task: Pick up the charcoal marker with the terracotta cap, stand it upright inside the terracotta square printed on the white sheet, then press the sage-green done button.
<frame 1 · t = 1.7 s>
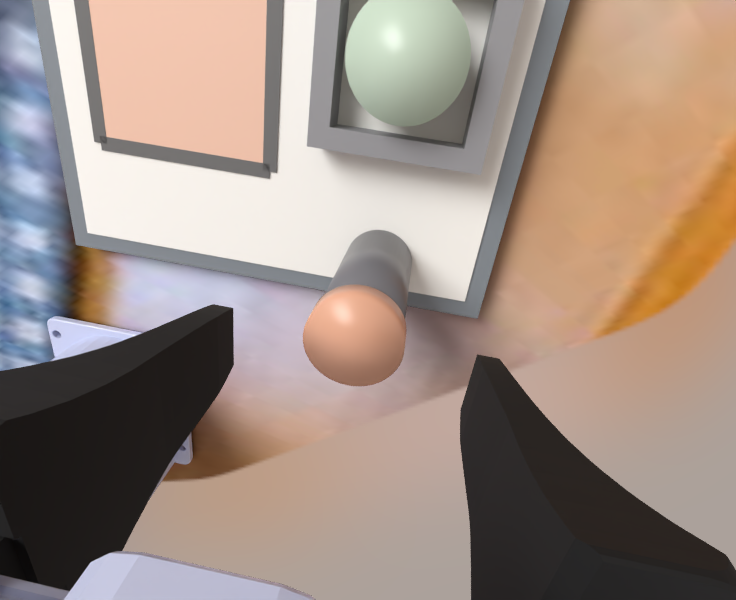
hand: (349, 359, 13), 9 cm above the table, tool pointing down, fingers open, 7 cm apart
board: (283, 125, 19), on the table
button: (408, 60, 15), point 3 cm above the table, slide at 0.0 cm
marker: (378, 261, 20), point 1 cm above the table, touching board
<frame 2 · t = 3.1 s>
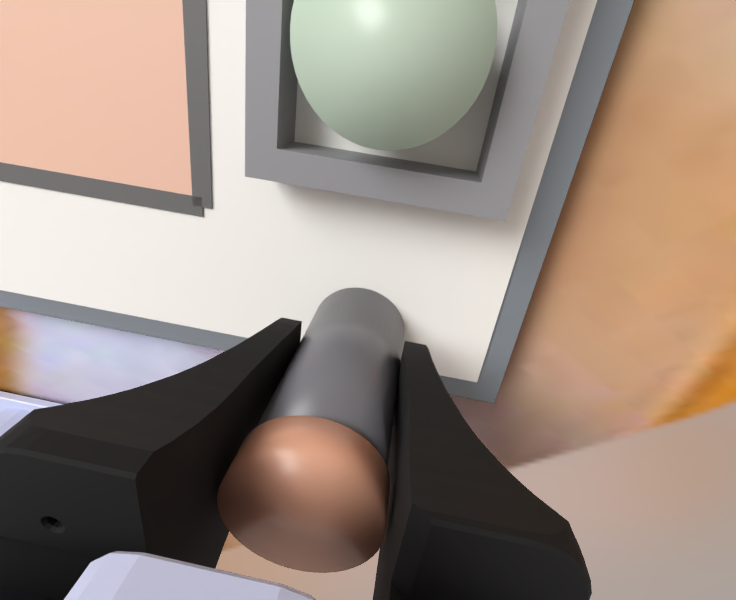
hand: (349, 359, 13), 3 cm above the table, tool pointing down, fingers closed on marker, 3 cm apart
board: (222, 141, 13), on the table
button: (393, 45, 9), point 3 cm above the table, slide at 0.0 cm
marker: (358, 328, 14), point 1 cm above the table, touching board, gripper
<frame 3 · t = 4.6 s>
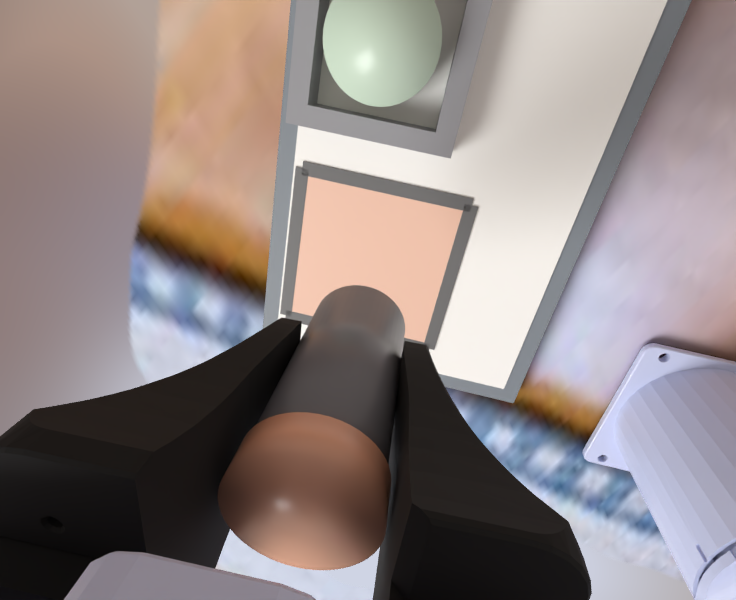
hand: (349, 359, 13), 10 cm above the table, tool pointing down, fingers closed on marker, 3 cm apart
board: (432, 186, 20), on the table
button: (383, 43, 15), point 3 cm above the table, slide at 0.0 cm
marker: (359, 326, 14), point 8 cm above the table, touching gripper
when the fingers open (4 cm above the table, at t = 6.1 s): marker drops 1 cm, resting on board.
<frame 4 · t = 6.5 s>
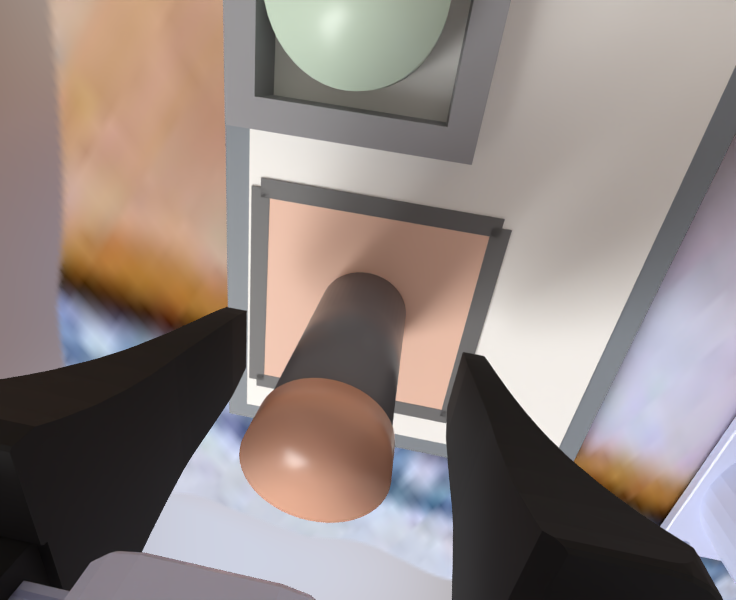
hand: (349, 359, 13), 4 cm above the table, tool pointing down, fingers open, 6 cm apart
board: (444, 203, 14), on the table
marker: (362, 311, 15), point 1 cm above the table, touching board
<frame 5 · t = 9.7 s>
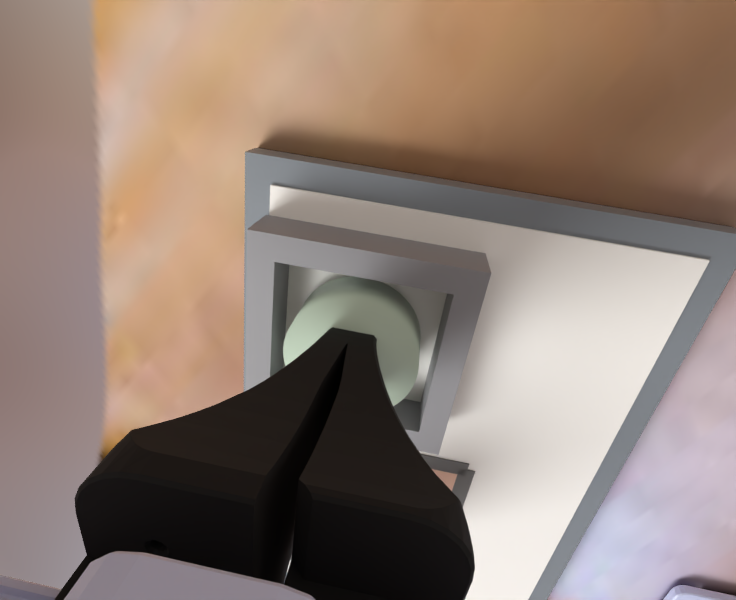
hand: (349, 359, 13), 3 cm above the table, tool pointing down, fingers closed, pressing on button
board: (421, 436, 17), on the table
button: (354, 346, 13), point 2 cm above the table, slide at 0.6 cm, touching gripper
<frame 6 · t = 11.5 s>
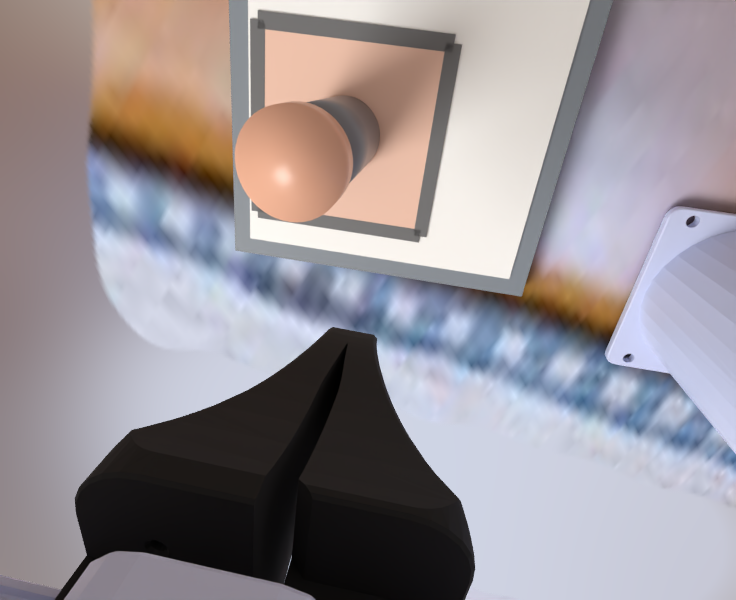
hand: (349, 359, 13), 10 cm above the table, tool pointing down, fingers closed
board: (408, 34, 17), on the table
marker: (344, 134, 18), point 1 cm above the table, touching board
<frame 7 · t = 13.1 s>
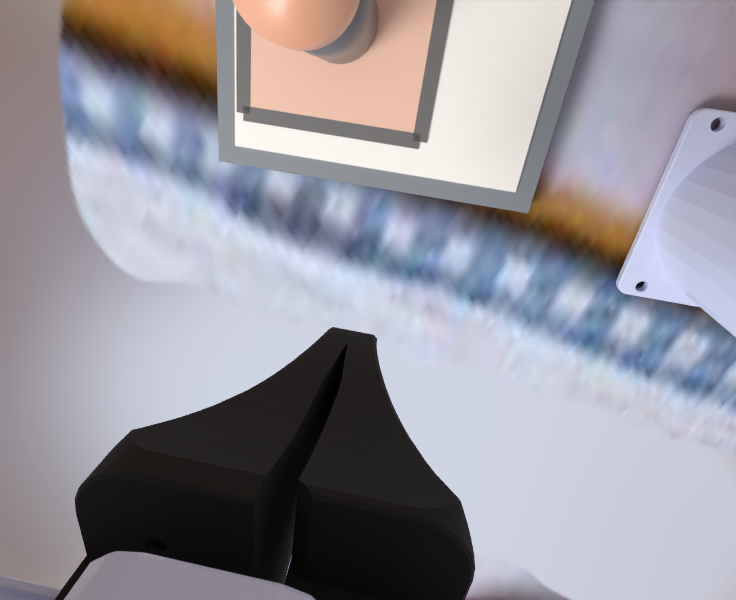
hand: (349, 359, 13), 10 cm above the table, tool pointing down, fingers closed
marker: (338, 19, 17), point 1 cm above the table, touching board
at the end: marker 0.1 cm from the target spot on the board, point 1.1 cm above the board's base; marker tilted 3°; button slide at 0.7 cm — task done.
